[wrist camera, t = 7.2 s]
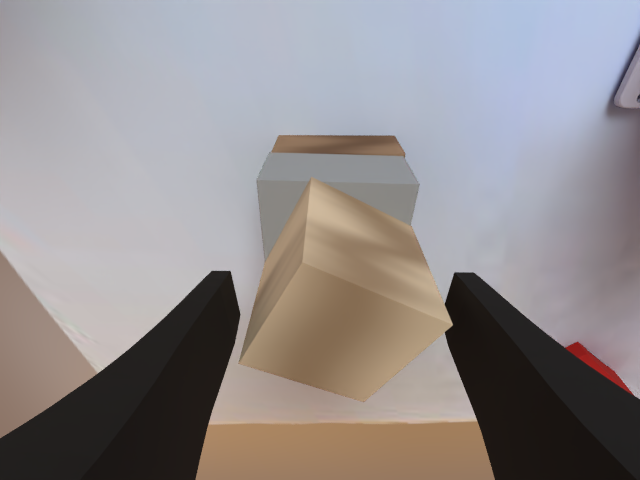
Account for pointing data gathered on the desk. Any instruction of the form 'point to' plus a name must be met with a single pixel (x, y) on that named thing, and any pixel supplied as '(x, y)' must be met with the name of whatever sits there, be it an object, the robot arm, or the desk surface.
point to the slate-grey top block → (333, 185)
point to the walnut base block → (338, 145)
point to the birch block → (343, 297)
